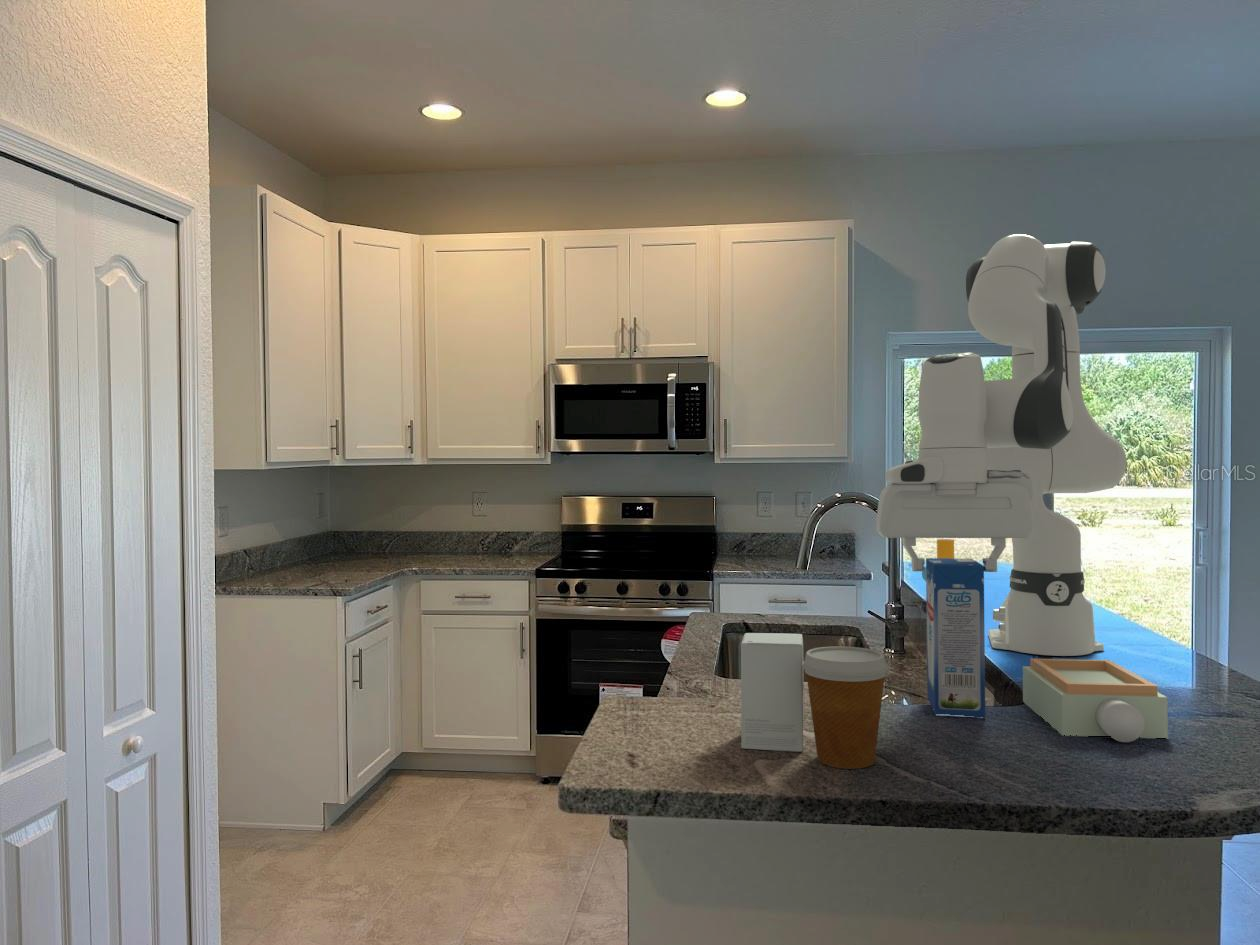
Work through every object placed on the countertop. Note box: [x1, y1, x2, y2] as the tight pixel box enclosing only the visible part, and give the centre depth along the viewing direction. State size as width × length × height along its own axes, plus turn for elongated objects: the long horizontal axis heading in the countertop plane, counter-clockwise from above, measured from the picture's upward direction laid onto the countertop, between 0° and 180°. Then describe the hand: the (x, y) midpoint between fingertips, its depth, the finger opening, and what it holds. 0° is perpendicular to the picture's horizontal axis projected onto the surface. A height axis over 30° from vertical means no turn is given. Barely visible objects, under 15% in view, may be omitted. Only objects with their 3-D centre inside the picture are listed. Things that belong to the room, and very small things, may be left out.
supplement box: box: [740, 632, 805, 753], centre depth 107 cm, size 7×7×13 cm
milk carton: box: [925, 557, 986, 719], centre depth 122 cm, size 10×6×20 cm, turn 167°
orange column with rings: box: [921, 538, 955, 582], centre depth 221 cm, size 12×10×15 cm
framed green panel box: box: [1022, 658, 1169, 743], centre depth 114 cm, size 19×12×6 cm, turn 172°
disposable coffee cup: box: [802, 645, 890, 770], centre depth 100 cm, size 10×10×12 cm
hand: (953, 571), depth 122 cm, fingers open, 8 cm apart
